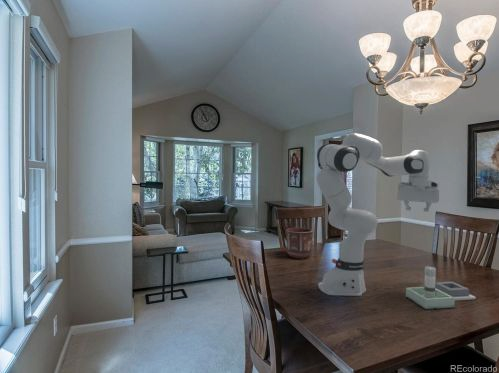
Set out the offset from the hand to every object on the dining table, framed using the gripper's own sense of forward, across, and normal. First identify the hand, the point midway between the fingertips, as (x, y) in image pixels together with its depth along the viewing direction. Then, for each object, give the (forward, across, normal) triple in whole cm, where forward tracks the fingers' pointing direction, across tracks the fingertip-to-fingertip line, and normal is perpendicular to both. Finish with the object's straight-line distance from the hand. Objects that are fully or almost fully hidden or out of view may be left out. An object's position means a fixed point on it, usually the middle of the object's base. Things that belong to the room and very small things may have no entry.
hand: (417, 211), depth 150 cm
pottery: (+36, -42, +60) cm, 81 cm away
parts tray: (+39, -4, -15) cm, 42 cm away
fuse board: (+38, +12, -9) cm, 40 cm away
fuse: (+38, -4, -16) cm, 41 cm away
